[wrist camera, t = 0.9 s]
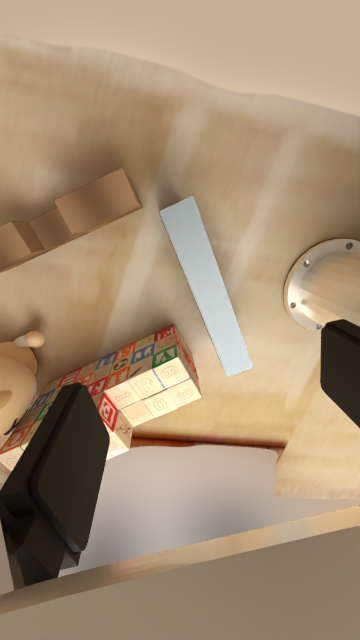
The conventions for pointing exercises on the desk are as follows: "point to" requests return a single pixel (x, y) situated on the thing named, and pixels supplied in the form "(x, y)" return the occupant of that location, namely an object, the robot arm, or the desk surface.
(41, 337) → the kitten
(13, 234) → the brown wooden block
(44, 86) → the desk surface
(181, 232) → the blue board
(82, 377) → the stack of blocks
